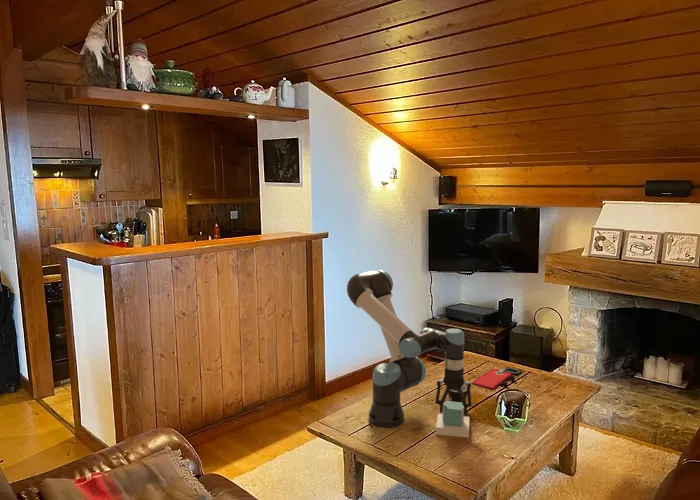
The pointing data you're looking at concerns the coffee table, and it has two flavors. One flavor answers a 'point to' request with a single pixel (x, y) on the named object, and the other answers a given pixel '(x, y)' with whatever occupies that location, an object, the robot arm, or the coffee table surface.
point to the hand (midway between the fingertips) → (453, 420)
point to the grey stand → (452, 428)
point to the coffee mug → (457, 394)
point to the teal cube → (453, 413)
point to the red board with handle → (496, 378)
